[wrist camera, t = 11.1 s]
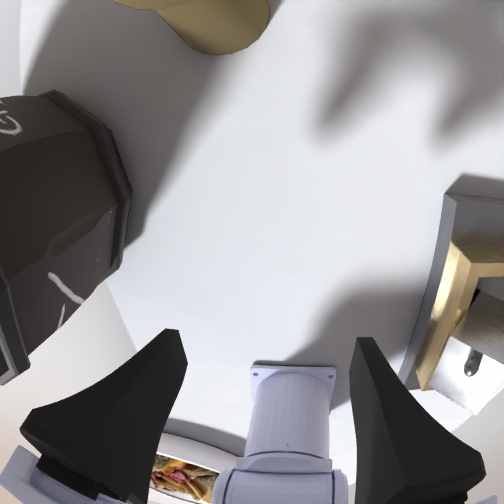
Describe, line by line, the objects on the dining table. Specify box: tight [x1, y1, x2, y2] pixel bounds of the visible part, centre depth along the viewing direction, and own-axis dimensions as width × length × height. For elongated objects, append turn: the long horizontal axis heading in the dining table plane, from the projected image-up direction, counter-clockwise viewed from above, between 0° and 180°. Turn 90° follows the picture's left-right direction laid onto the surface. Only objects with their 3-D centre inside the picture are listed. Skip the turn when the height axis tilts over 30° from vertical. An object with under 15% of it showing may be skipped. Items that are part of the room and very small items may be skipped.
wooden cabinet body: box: [398, 194, 504, 391], centre depth 18 cm, size 18×13×4 cm
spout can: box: [428, 290, 504, 415], centre depth 15 cm, size 5×5×8 cm
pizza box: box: [149, 433, 238, 504], centre depth 39 cm, size 30×30×8 cm
